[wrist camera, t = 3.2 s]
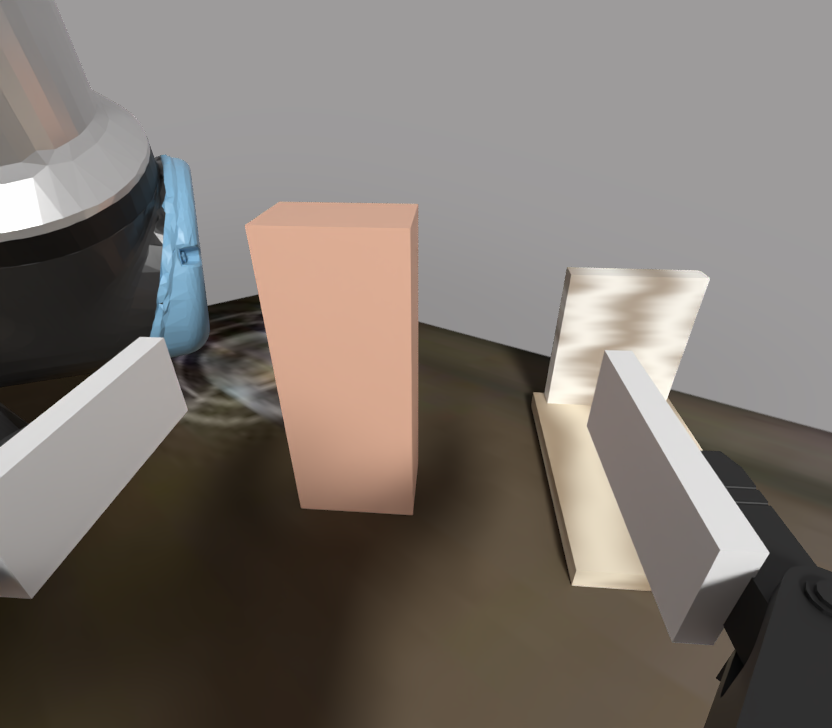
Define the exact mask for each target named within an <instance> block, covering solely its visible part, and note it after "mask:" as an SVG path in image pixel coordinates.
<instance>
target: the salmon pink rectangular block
mask: <svg viewBox="0 0 832 728" xmlns="http://www.w3.org/2000/svg"><path fill="white" fill-rule="evenodd" d="M245 228H246V233H247V238H248V243H249V248H250V253H251V258H252V263H253V268H254V273H255V279H256V283H257V289H258V294H259V299H260V304H261V309H262V314H263V319H264V324H265V329H266V334H267V339H268V344H269V349H270V354H271V359H272V364H273V369H274V374H275V379H276V384H277V390H278V395H279V400H280V405H281V410H282V415H283V420H284V425H285V430H286V435H287V440H288V445H289V450H290V455H291V460H292V465H293V470H294V475H295V480H296V485H297V490H298V495H299V500H300V506H301V508H304V509H320V510H336V511H352V512H369V513H385V514H401V515H413V509H414V499H415V489H416V480H417V470H418V204H387V203H383V204H382V203H323V202H322V203H321V202H320V203H319V202H278V203H277V204H275V205H274V206H273V207H271V208H270V209H268V210H267V211H265V212H264V213H262V214H261V215H259V216H258V217H256V218H255V219H254V220H252V221H250V222H249V223H247V224H246V225H245Z"/></svg>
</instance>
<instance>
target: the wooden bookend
mask: <svg viewBox="0 0 832 728" xmlns="http://www.w3.org/2000/svg"><path fill="white" fill-rule="evenodd" d="M709 280H710V278H709V277H708V276H706V275H705V274H704V273H703V272H701V271H695V270H654V269H615V268H576V267H567V270H566V276H565V281H564V287H563V293H562V298H561V303H560V309H559V315H558V320H557V326H556V331H555V337H554V342H553V348H552V353H551V359H550V364H549V370H548V375H547V381H546V387H545V392H544V393H537V392H533V397H532V403H531V407H532V411H533V416H534V420H535V425H536V429H537V434H538V438H539V442H540V447H541V451H542V456H543V460H544V465H545V469H546V473H547V478H548V482H549V487H550V491H551V496H552V500H553V504H554V509H555V513H556V518H557V522H558V527H559V531H560V535H561V540H562V544H563V549H564V553H565V558H566V562H567V567H568V571H569V575H570V580H571V584H572V586H586V587H600V588H614V589H628V590H643V591H652V590H651V588H650V585H649V582H648V580H647V577H646V575H645V572H644V570H643V567H642V565H641V562H640V560H639V557H638V555H637V552H636V550H635V547H634V544H633V542H632V539H631V537H630V534H629V532H628V529H627V527H626V524H625V522H624V519H623V517H622V514H621V512H620V509H619V506H618V504H617V501H616V499H615V496H614V494H613V491H612V489H611V486H610V484H609V481H608V479H607V476H606V473H605V471H604V468H603V466H602V463H601V461H600V458H599V456H598V453H597V451H596V448H595V446H594V443H593V441H592V438H591V435H590V433H589V430H588V428H587V422H588V418H589V414H590V410H591V405H592V401H593V397H594V393H595V389H596V384H597V380H598V376H599V372H600V367H601V363H602V359H603V355H604V351H605V350H619V351H633V353H634V354H635V356H636V357H637V359H638V360H639V362H640V363H641V365H642V366H643V368H644V369H645V371H646V372H647V373H648V375H649V376H650V378H651V379H652V381H653V382H654V384H655V385H656V387H657V388H658V390H659V391H660V393H661V394H662V395H663V397H664V398H665V400H666V401H667V403H668V404H669V406H670V407H671V409H672V410H673V412H674V413H675V415H676V416H677V418H678V419H679V420H680V422H681V423H682V425H683V426H684V428H685V429H686V431H687V432H688V434H689V435H690V437H691V438H692V440H693V441H694V442H695V444H696V445H697V447H698V448H699V450H700V451H703V450H702V449H701V447H700V446H699V444H698V443H697V441H696V440H695V438H694V437H693V435H692V433H691V432H690V430H689V429H688V427H687V426H686V424H685V423H684V421H683V420H682V418H681V417H680V415H679V414H678V412H677V411H676V409H675V408H674V406H673V405H672V403H671V402H670V400H669V399H668V398H667V397H668V394H669V392H670V389H671V386H672V383H673V380H674V378H675V375H676V372H677V369H678V366H679V364H680V361H681V358H682V355H683V353H684V350H685V347H686V344H687V341H688V338H689V336H690V333H691V330H692V327H693V325H694V322H695V319H696V316H697V313H698V311H699V308H700V305H701V302H702V299H703V297H704V294H705V291H706V288H707V285H708V283H709Z"/></svg>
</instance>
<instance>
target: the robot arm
mask: <svg viewBox="0 0 832 728" xmlns="http://www.w3.org/2000/svg"><path fill="white" fill-rule="evenodd" d="M209 332H210V324H209V316H208V307H207V300H206V291H205V283H204V275H203V267H202V260H201V251H200V243H199V235H198V227H197V218H196V210H195V203H194V194H193V186H192V178H191V170H190V167H189V165H188V164H187V163H186V162H185V161H184V160H181V159H178V158H171V157H170V156H167V155H160V156H158V157H155V158H154V156H153V153H152V150H151V147H150V144H149V141H148V138H147V136H146V134H145V132H144V130H143V128H142V126H141V124H140V122H139V121H138V120H137V119H136V118H135V117H134V116H133V115H132V114H131V113H130V112H129V111H128V110H126V109H125V108H124V107H122V106H121V105H119V104H117V103H115V102H114V101H112V100H110V99H108V98H106V97H104V96H103V95H101V94H99V93H97V92H95V91H94V90H92V89H91V87H90V85H89V83H88V80H87V78H86V75H85V73H84V70H83V68H82V65H81V63H80V61H79V58H78V56H77V53H76V51H75V49H74V46H73V44H72V41H71V39H70V36H69V34H68V32H67V29H66V27H65V24H64V22H63V20H62V17H61V15H60V12H59V10H58V7H57V5H56V3H55V1H54V0H0V387H5V386H12V385H18V384H25V383H31V382H38V381H44V380H51V379H58V378H64V377H71V376H77V375H84V374H90V373H93V374H92V375H91V376H90V377H88V378H87V379H86V380H85V381H83V382H82V383H81V384H80V385H78V386H77V387H76V388H74V389H73V390H72V391H71V392H69V393H68V394H67V395H66V396H64V397H63V398H62V399H60V400H59V401H58V402H57V403H55V404H54V405H53V406H52V407H50V408H49V409H48V410H47V411H45V412H44V413H43V414H41V415H40V416H39V417H38V418H36V419H35V420H34V421H33V422H31V423H30V424H28V423H27V422H26V421H24V420H23V419H22V418H20V417H19V416H18V415H16V414H15V413H14V412H12V411H11V410H10V409H8V408H7V407H6V406H4V405H3V404H2V403H0V597H10V598H25V599H32V598H33V597H34V595H35V594H36V593H37V592H38V591H39V589H40V588H41V587H42V586H43V585H44V583H45V582H46V581H47V580H48V579H49V577H50V576H51V575H52V574H53V573H54V571H55V570H56V569H57V568H58V566H59V565H60V564H61V563H62V562H63V560H64V559H65V558H66V557H67V556H68V554H69V553H70V552H71V551H72V550H73V548H74V547H75V546H76V545H77V544H78V542H79V541H80V540H81V539H82V537H83V536H84V535H85V534H86V533H87V531H88V530H89V529H90V528H91V527H92V525H93V524H94V523H95V522H96V521H97V519H98V518H99V517H100V516H101V515H102V513H103V512H104V511H105V510H106V508H107V507H108V506H109V505H110V504H111V502H112V501H113V500H114V499H115V498H116V496H117V495H118V494H119V493H120V492H121V490H122V489H123V488H124V487H125V486H126V484H127V483H128V482H129V481H130V480H131V478H132V477H133V476H134V475H135V473H136V472H137V471H138V470H139V469H140V467H141V466H142V465H143V464H144V463H145V461H146V460H147V459H148V458H149V457H150V455H151V454H152V453H153V452H154V451H155V449H156V448H157V447H158V446H159V444H160V443H161V442H162V441H163V440H164V438H165V437H166V436H167V435H168V434H169V432H170V431H171V430H172V429H173V428H174V426H175V425H176V424H177V423H178V422H179V420H180V419H181V418H182V417H183V416H184V414H185V413H186V412H187V411H188V409H187V406H186V403H185V400H184V397H183V394H182V391H181V388H180V385H179V382H178V379H177V376H176V373H175V370H174V367H173V364H172V361H171V358H173V357H177V356H182V355H186V354H190V353H193V352H195V351H197V350H198V349H200V348H201V347H202V346H203V345H204V344H205V342H206V341H207V339H208V336H209ZM587 428H588V430H589V433H590V435H591V438H592V441H593V443H594V446H595V448H596V451H597V453H598V456H599V458H600V461H601V463H602V466H603V468H604V471H605V473H606V476H607V479H608V481H609V484H610V486H611V489H612V491H613V494H614V496H615V499H616V501H617V504H618V506H619V509H620V512H621V514H622V517H623V519H624V522H625V524H626V527H627V529H628V532H629V534H630V537H631V539H632V542H633V544H634V547H635V550H636V552H637V555H638V557H639V560H640V562H641V565H642V567H643V570H644V572H645V575H646V577H647V580H648V582H649V585H650V588H651V590H652V593H653V595H654V598H655V600H656V603H657V605H658V608H659V610H660V613H661V615H662V618H663V620H664V623H665V626H666V628H667V631H668V633H669V636H670V638H671V641H672V642H675V643H689V644H704V645H714V643H715V642H716V640H717V638H718V637H719V635H720V633H721V632H722V630H723V628H725V630H726V632H727V634H728V636H729V638H730V640H731V642H732V644H733V646H734V648H735V650H734V651H733V653H732V654H731V656H730V657H729V659H728V660H727V662H726V663H725V665H724V666H723V668H722V669H721V671H720V672H719V674H718V675H717V677H716V679H718V680H719V681H721V682H720V685H719V688H718V690H717V693H716V696H715V698H714V701H713V704H712V707H711V709H710V712H709V715H708V718H707V720H706V723H705V726H704V728H832V572H830V571H828V570H825V569H823V568H820V567H817V566H816V564H815V563H814V562H813V560H812V559H811V558H810V556H809V555H808V554H807V553H806V551H805V550H804V549H803V547H802V546H801V545H800V543H799V542H798V541H797V539H796V538H795V537H794V535H793V534H792V533H791V532H790V530H789V529H788V528H787V526H786V525H785V524H784V522H783V521H782V520H781V518H780V517H779V516H778V514H777V513H776V512H775V511H774V509H773V508H772V507H771V506H768V501H767V500H766V499H765V497H764V496H763V495H762V493H761V492H760V491H759V490H756V486H755V484H754V483H753V482H752V480H751V479H750V478H749V476H748V475H747V474H746V472H745V471H744V470H743V468H742V467H740V466H739V465H738V464H736V463H735V462H734V461H732V460H731V459H730V458H729V457H727V456H726V455H725V454H723V453H722V452H721V451H700V450H699V448H698V447H697V445H696V444H695V442H694V441H693V440H692V438H691V437H690V435H689V434H688V432H687V431H686V429H685V428H684V426H683V425H682V423H681V422H680V420H679V419H678V418H677V416H676V415H675V413H674V412H673V410H672V409H671V407H670V406H669V404H668V403H667V401H666V400H665V398H664V397H663V395H662V394H661V393H660V391H659V390H658V388H657V387H656V385H655V384H654V382H653V381H652V379H651V378H650V376H649V375H648V373H647V372H646V371H645V369H644V368H643V366H642V365H641V363H640V362H639V360H638V359H637V357H636V356H635V354H634V353H633V351H619V350H605V351H604V355H603V359H602V363H601V367H600V372H599V376H598V380H597V384H596V389H595V393H594V397H593V401H592V405H591V410H590V414H589V418H588V422H587Z"/></svg>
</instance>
